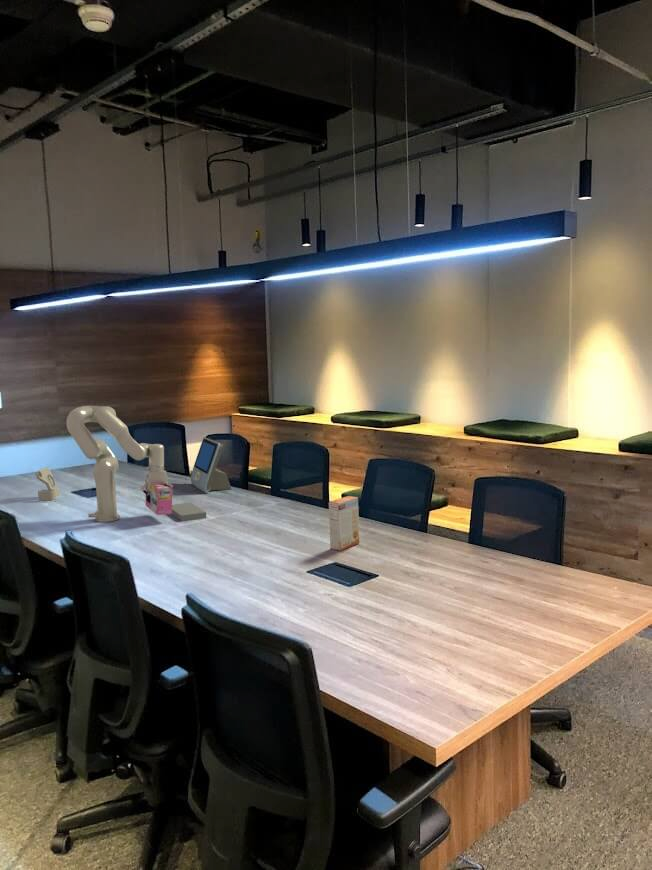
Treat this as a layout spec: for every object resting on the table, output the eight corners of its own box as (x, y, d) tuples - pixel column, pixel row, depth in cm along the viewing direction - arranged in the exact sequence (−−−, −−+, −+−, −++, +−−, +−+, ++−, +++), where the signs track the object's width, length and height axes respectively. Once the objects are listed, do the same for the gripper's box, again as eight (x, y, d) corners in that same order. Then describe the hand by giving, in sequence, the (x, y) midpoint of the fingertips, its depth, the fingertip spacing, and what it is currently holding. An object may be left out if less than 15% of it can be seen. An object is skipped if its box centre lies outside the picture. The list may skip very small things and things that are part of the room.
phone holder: (54, 501, 414) (51, 471, 412) (36, 502, 414) (34, 471, 412) (65, 495, 431) (63, 466, 429) (49, 495, 432) (46, 466, 429)
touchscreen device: (188, 484, 456) (187, 437, 453) (217, 482, 464) (217, 436, 461) (202, 494, 424) (202, 444, 421) (234, 491, 433) (234, 442, 429)
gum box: (144, 505, 375) (143, 479, 373) (159, 503, 379) (158, 478, 377) (157, 515, 355) (156, 488, 353) (172, 513, 358) (172, 487, 357)
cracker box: (349, 541, 317) (348, 495, 315) (359, 543, 314) (359, 496, 311) (329, 549, 307) (328, 501, 304) (340, 551, 303) (339, 503, 300)
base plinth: (181, 521, 361) (181, 515, 360) (167, 510, 385) (167, 505, 384) (206, 517, 367) (206, 512, 366) (190, 507, 390) (190, 502, 390)
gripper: (141, 470, 359) (141, 505, 361) (175, 468, 367) (175, 501, 369) (137, 468, 365) (138, 501, 367) (171, 466, 373) (171, 499, 375)
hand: (157, 501), depth 368 cm, fingers closed on gum box, 8 cm apart
